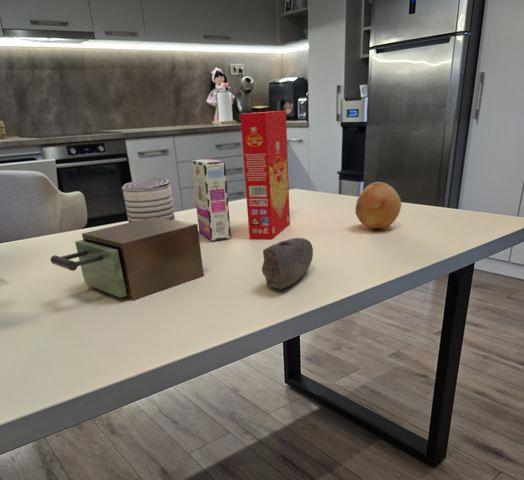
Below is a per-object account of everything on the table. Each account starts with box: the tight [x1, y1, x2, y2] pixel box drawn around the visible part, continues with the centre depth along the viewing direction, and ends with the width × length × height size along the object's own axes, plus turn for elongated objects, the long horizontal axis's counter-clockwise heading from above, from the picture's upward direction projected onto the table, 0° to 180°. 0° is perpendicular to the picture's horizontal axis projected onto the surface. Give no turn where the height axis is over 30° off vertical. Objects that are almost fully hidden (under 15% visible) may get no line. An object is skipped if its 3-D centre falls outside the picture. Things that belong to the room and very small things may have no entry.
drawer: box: [50, 239, 128, 298], centre depth 79 cm, size 19×11×7 cm, turn 136°
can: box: [121, 177, 176, 223], centre depth 116 cm, size 11×11×12 cm
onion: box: [355, 181, 402, 229], centre depth 106 cm, size 10×10×10 cm
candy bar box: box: [190, 158, 232, 242], centre depth 108 cm, size 11×5×16 cm, turn 22°
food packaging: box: [239, 110, 291, 240], centre depth 107 cm, size 15×5×25 cm, turn 162°
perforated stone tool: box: [261, 237, 314, 290], centre depth 78 cm, size 15×5×7 cm, turn 149°
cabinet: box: [81, 217, 205, 301], centre depth 82 cm, size 15×13×9 cm
